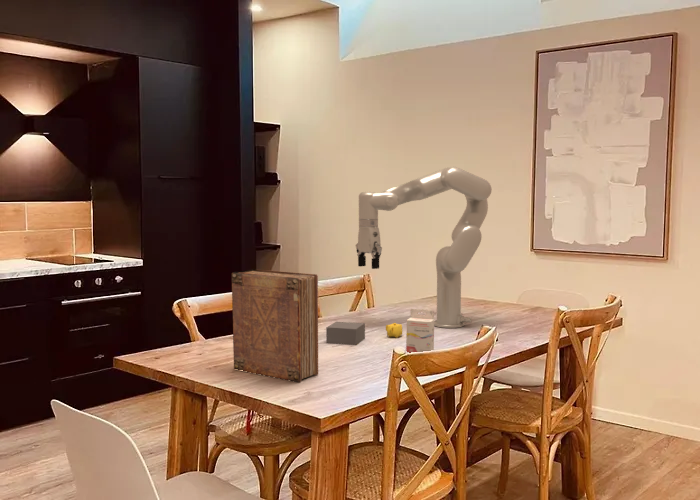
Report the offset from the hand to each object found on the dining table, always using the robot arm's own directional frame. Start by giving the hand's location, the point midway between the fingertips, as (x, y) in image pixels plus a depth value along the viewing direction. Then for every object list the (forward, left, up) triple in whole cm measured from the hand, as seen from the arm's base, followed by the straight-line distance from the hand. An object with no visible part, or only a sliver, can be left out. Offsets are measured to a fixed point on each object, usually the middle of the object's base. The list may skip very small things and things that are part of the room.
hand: (368, 267), depth 270 cm
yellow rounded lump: (-14, +12, -24) cm, 30 cm away
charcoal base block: (0, +25, -24) cm, 35 cm away
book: (+5, +72, -24) cm, 76 cm away
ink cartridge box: (-30, +35, -24) cm, 52 cm away
